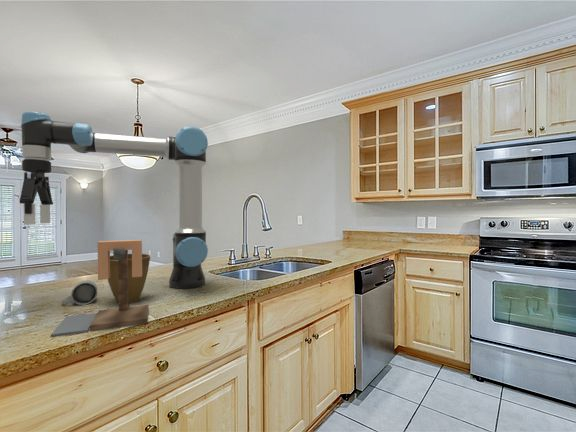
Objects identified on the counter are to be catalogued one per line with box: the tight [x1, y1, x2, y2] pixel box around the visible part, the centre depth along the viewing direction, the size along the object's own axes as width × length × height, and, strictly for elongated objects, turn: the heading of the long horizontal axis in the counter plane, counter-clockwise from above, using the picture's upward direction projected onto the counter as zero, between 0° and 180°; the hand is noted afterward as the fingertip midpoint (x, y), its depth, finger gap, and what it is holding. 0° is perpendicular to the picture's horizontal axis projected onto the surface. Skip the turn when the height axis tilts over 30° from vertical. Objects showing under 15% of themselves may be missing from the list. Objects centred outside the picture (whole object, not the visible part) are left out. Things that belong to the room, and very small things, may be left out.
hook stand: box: [89, 248, 149, 332], centre depth 91 cm, size 14×15×22 cm
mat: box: [50, 312, 98, 338], centre depth 87 cm, size 8×15×1 cm, turn 23°
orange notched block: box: [97, 239, 143, 281], centre depth 90 cm, size 11×4×10 cm, turn 113°
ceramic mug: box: [61, 279, 99, 306], centre depth 109 cm, size 11×8×8 cm
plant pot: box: [107, 253, 151, 304], centre depth 111 cm, size 15×15×16 cm
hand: (38, 223), depth 103 cm, fingers open, 13 cm apart
